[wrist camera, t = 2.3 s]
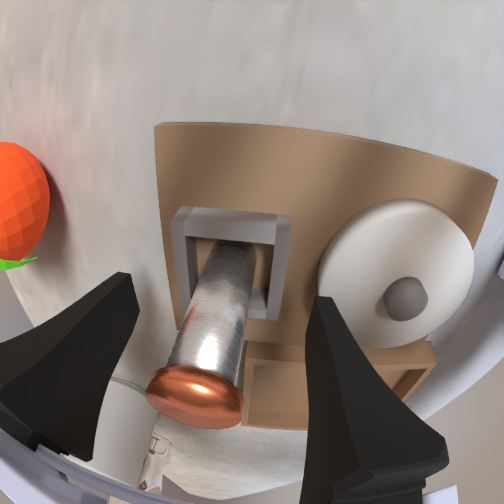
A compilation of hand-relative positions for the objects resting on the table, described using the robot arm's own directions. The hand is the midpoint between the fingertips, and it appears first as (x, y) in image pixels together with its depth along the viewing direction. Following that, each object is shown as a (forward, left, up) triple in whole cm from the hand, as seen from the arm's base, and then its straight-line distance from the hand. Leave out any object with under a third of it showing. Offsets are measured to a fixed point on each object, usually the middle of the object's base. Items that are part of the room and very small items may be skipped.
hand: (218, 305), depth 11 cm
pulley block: (-5, 0, -4) cm, 6 cm away
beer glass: (+12, +36, -5) cm, 38 cm away
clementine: (+12, -3, -5) cm, 14 cm away
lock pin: (0, 0, -3) cm, 3 cm away
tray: (-8, +12, -4) cm, 15 cm away
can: (+11, +20, -5) cm, 23 cm away
